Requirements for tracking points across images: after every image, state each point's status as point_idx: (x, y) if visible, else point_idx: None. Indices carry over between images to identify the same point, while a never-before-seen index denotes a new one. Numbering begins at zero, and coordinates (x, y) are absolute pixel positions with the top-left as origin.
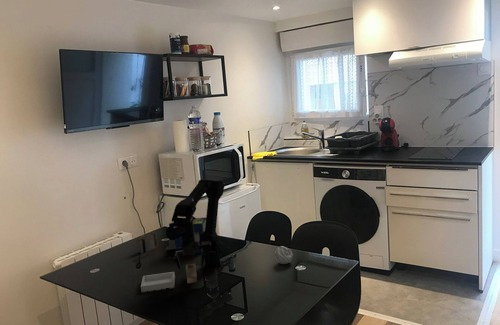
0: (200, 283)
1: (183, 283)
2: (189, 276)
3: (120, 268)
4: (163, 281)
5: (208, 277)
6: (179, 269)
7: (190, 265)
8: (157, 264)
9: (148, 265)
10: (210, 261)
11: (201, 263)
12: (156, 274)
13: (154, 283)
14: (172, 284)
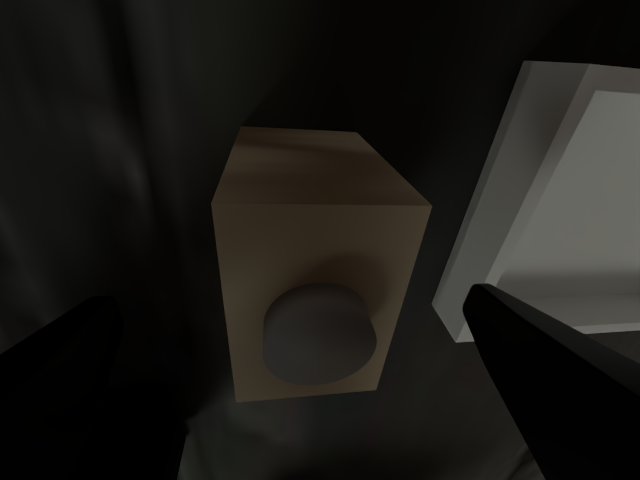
0: (189, 52)
1: (398, 148)
2: (342, 154)
3: None
4: (553, 240)
5: (106, 208)
6: (495, 287)
7: (326, 322)
8: (461, 450)
9: (501, 446)
10: (110, 447)
11: (53, 348)
12: (598, 327)
13: (629, 225)
14: (574, 65)
